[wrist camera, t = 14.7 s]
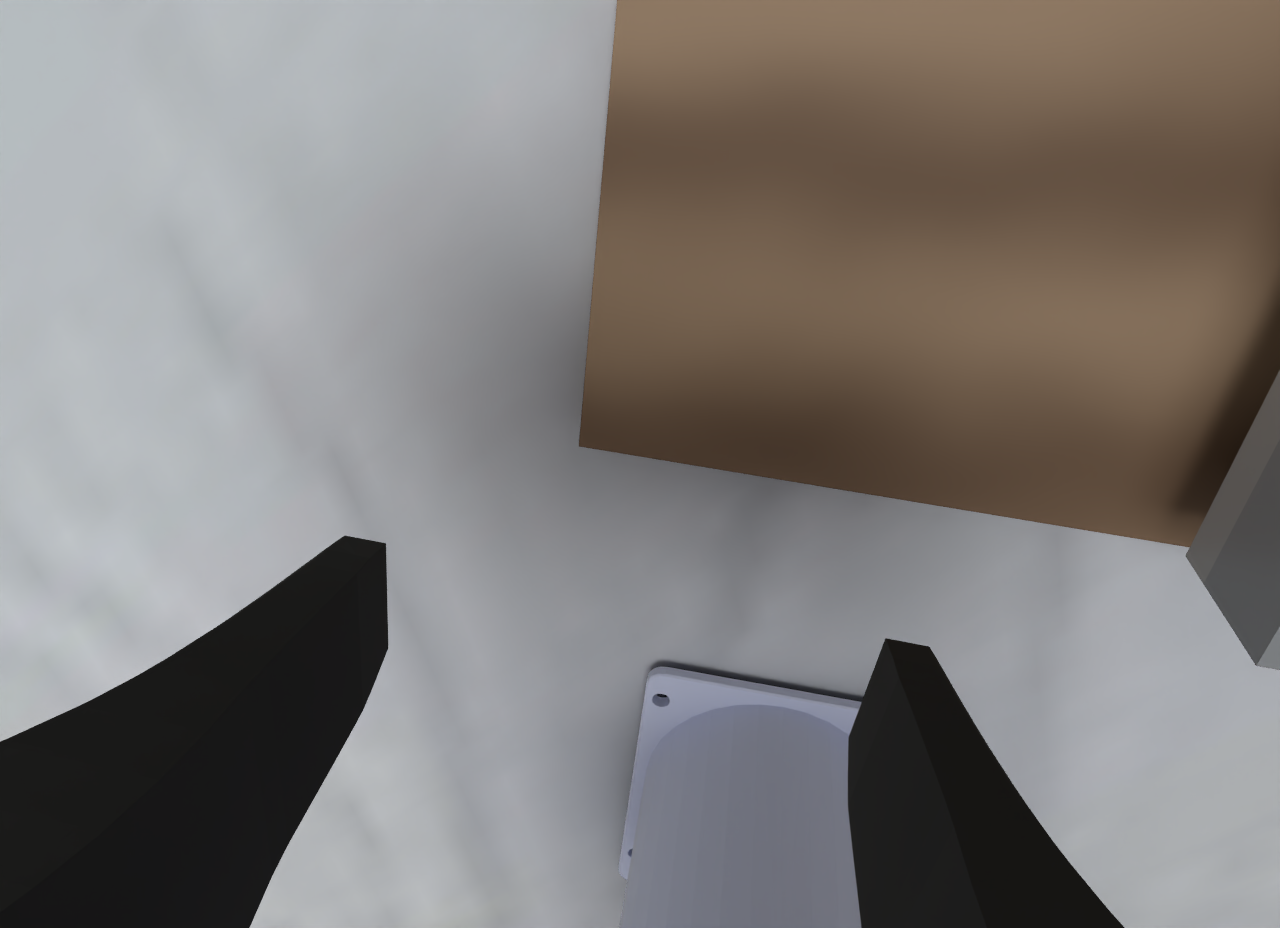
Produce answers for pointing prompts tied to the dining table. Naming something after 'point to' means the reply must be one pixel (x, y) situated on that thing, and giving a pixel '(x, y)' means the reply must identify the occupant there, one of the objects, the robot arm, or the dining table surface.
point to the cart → (1247, 539)
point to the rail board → (943, 249)
